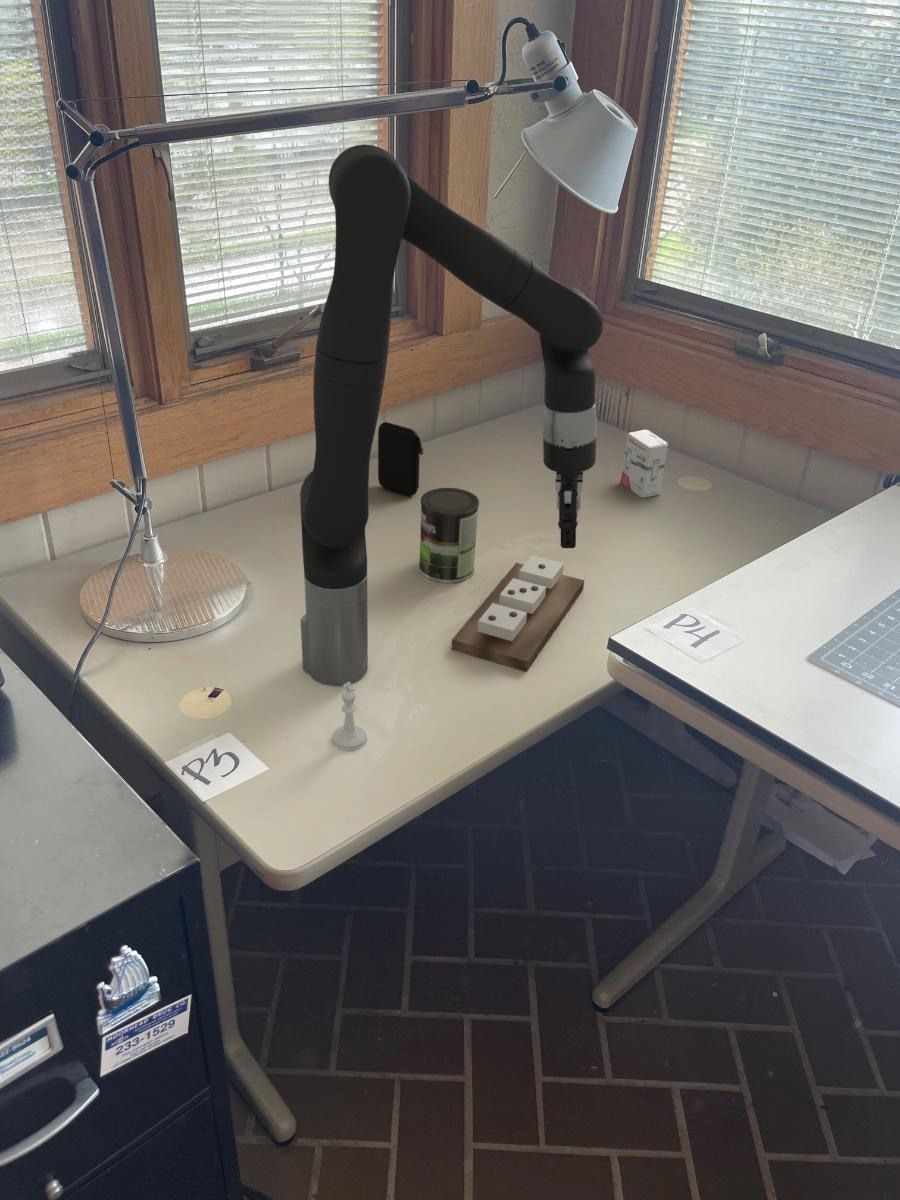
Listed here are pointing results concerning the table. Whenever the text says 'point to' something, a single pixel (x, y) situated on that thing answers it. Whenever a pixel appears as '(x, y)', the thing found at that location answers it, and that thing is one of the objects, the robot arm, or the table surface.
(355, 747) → the chess piece
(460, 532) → the coffee can
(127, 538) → the table surface
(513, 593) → the tile three
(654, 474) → the ink box
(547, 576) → the tile one
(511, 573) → the tile board
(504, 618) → the tile two
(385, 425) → the carrying case or bag
